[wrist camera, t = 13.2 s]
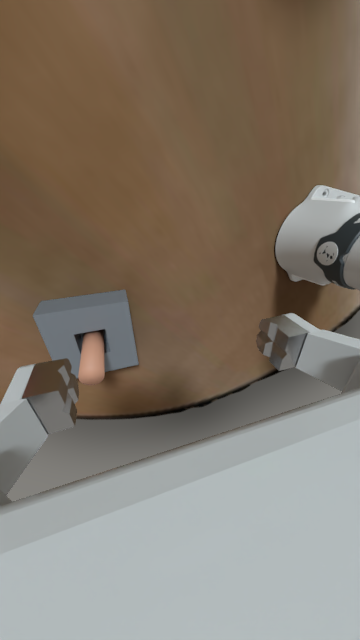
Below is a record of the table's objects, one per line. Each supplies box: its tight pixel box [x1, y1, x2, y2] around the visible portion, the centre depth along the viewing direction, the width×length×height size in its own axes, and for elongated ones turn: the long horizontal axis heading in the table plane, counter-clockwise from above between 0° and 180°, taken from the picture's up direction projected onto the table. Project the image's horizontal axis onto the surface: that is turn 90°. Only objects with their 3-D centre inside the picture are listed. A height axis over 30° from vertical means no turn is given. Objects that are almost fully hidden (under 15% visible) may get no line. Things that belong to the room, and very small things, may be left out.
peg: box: [78, 329, 105, 385], centre depth 36 cm, size 4×4×12 cm
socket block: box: [33, 290, 139, 378], centre depth 39 cm, size 14×14×5 cm
